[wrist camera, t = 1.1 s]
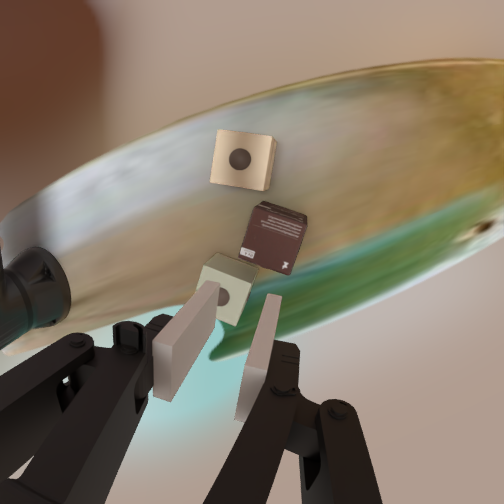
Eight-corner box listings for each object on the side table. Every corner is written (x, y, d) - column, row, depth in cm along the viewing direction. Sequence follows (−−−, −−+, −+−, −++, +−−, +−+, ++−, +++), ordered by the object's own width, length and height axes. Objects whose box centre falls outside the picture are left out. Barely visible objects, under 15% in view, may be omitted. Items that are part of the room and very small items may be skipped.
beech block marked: (223, 180, 40) (209, 182, 34) (230, 135, 38) (217, 129, 32) (269, 188, 39) (262, 191, 33) (276, 142, 37) (272, 136, 31)
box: (308, 215, 39) (309, 224, 32) (292, 259, 41) (289, 277, 34) (262, 200, 39) (253, 205, 32) (248, 243, 41) (236, 258, 34)
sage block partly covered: (204, 290, 44) (190, 308, 38) (217, 252, 42) (203, 265, 36) (245, 307, 43) (236, 327, 37) (260, 269, 42) (252, 284, 36)
